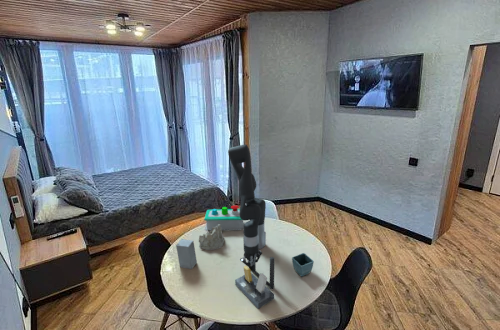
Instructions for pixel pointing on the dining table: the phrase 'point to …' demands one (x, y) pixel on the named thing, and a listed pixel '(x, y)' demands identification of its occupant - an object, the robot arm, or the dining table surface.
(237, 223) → the control panel
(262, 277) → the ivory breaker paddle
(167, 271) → the dining table surface
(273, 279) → the cable posts
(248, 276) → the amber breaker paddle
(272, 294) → the strip
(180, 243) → the skincare box
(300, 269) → the flower pot
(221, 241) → the jagged rock sculpture
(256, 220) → the robot arm
